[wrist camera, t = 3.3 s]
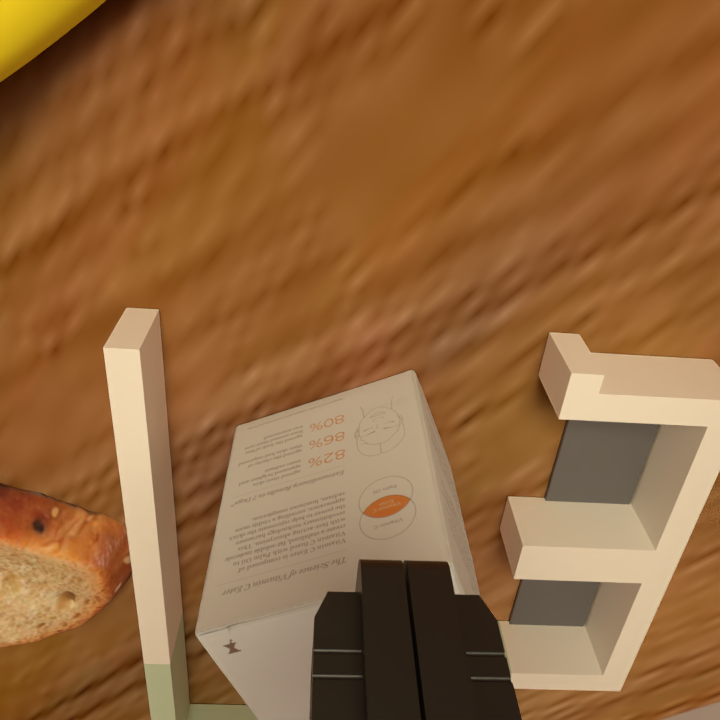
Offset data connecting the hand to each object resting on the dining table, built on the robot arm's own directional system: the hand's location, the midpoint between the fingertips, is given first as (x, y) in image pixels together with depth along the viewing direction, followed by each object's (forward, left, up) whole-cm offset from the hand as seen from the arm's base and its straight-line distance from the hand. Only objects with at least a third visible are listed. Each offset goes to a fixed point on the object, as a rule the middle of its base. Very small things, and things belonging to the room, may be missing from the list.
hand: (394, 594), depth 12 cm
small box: (+9, 0, -16) cm, 18 cm away
